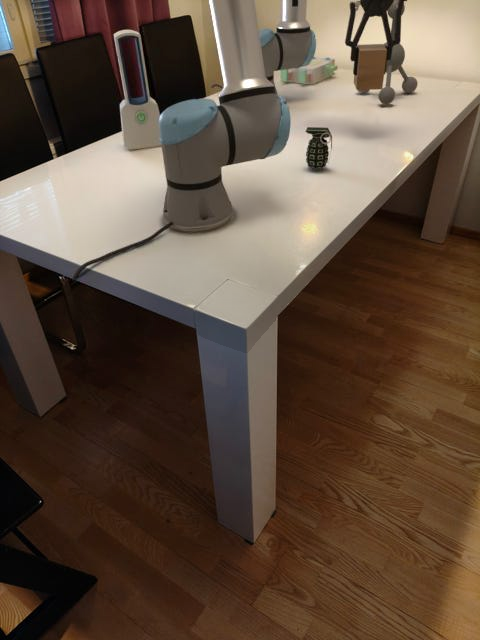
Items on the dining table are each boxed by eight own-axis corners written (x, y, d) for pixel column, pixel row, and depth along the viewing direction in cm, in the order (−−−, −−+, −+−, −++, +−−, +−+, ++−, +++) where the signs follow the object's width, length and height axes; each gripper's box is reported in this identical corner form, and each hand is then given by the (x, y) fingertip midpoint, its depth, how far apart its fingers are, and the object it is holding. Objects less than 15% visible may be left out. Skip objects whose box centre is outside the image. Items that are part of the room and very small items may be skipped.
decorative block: (303, 54, 216) (344, 57, 207) (302, 70, 220) (342, 74, 211) (271, 65, 200) (314, 69, 191) (271, 82, 204) (314, 87, 195)
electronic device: (125, 150, 145) (103, 35, 126) (123, 143, 151) (101, 31, 132) (166, 145, 147) (150, 30, 129) (163, 137, 153) (147, 27, 134)
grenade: (303, 171, 125) (304, 132, 119) (306, 163, 129) (307, 125, 123) (329, 173, 124) (331, 132, 117) (331, 164, 128) (333, 125, 122)
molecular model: (436, 99, 173) (455, -2, 154) (383, 108, 167) (396, 4, 148) (396, 85, 190) (408, -7, 172) (347, 93, 184) (354, -1, 166)
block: (382, 89, 134) (387, 49, 128) (356, 89, 135) (360, 50, 129) (378, 81, 141) (382, 43, 135) (353, 82, 141) (357, 44, 135)
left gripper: (481, -245, 52) (440, -5, 65) (247, -223, 54) (253, 4, 67) (506, -268, 46) (455, 0, 59) (242, -243, 48) (249, 10, 61)
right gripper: (417, -31, 123) (403, 69, 138) (338, -27, 125) (332, 71, 140) (423, -29, 117) (408, 75, 132) (340, -25, 120) (333, 77, 134)
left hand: (347, 3), depth 63 cm, fingers open, 13 cm apart
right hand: (368, 73), depth 136 cm, fingers closed on block, 7 cm apart
